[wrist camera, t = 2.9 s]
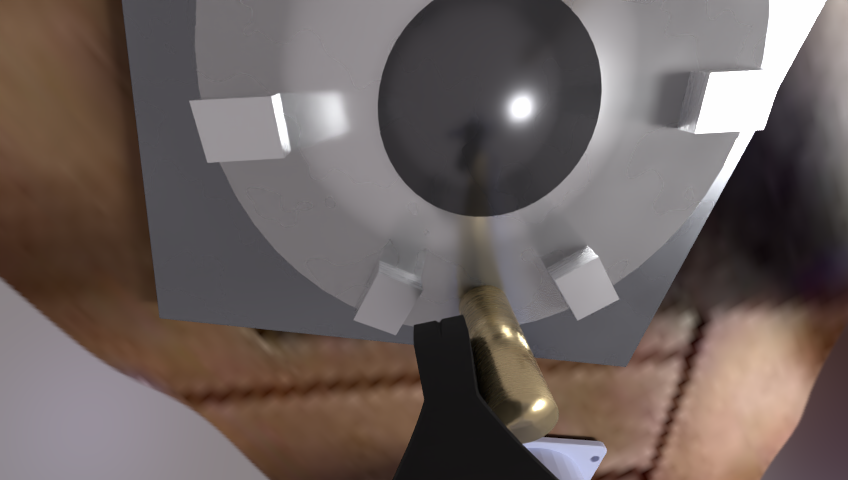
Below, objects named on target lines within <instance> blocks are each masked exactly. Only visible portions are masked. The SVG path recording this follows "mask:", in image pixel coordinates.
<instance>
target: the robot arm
mask: <svg viewBox="0 0 848 480" xmlns="http://www.w3.org/2000/svg"><path fill="white" fill-rule="evenodd" d="M413 343H414V348H415V353H416V358H417V364H418V369H419V374H420V379H421V384H422V390H423V395H424V403H423V406H422V409H421V412H420V415H419V418H418V421H417V424H416V426H415V429H414V432H413V434H412V437H411V439H410V442H409V444H408V447H407V449H406V451H405V453H404V456H403V458H402V460H401V462H400V465H399V467H398V469H397V471H396V473H395V476H394V478H393V480H590V479H591V478H592V476H593V474H594V473H595V471H596V469H597V468H598V466H599V464H600V463H601V461H602V459H603V457H604V456H605V454H606V452H607V449H606V447H605V445H604V443H602V442H600V441H591V440H577V439H563V438H550V437H542V438H540V439H538V440H535V441H533V442H529V443H525V444H522V443H521V442H520V441H519V440H518V439H517V438H516V437H515V436H514V434H513V433H512V432H511V431H510V430H509V429H508V428H507V427H506V426H505V425H504V423H503V422H502V421H501V420H500V419H499V418H498V416H497V415H496V414H495V413H494V412H493V410H492V409H491V408H490V407H489V406H488V404H487V403H486V402H485V400H484V399H483V398H482V397H481V395H480V393H479V387H478V381H477V374H476V368H475V362H474V357H473V352H472V347H471V342H470V336H469V331H468V328H467V324H466V321H465V318H464V315H458V316H454V317H449V318H444V319H442V320H441V321H440V322H437V321H436V320H435V321H430V322H425V323H420V324H416V325H414V332H413Z"/></svg>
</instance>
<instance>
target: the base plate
mask: <svg viewBox="0 0 848 480" xmlns="http://www.w3.org/2000/svg"><path fill="white" fill-rule="evenodd" d="M825 1H826V0H769V22H768V29H767V36H766V44H765V51H764V58H763V62H762V66H761V68H770V69H784V71H783V74H782V77H781V79H780V82H779V85H778V88H779V86H780V84H781V82H782V80H783V78H784V77H785V75H786V73H787V71H788V69H789V67H790V66H791V64H792V62H793V60H794V58H795V56H796V55H797V53H798V51H799V49H800V47H801V45H802V44H803V42H804V40H805V38H806V36H807V34H808V33H809V31H810V29H811V27H812V25H813V23H814V22H815V20H816V18H817V16H818V14H819V12H820V11H821V9H822V7H823V5H824V3H825ZM122 7H123V15H124V23H125V32H126V40H127V49H128V57H129V65H130V74H131V82H132V90H133V99H134V107H135V116H136V124H137V132H138V141H139V149H140V157H141V166H142V174H143V183H144V191H145V199H146V208H147V216H148V224H149V233H150V241H151V250H152V258H153V266H154V275H155V283H156V291H157V300H158V308H159V317H160V318H163V319H172V320H182V321H192V322H201V323H211V324H220V325H230V326H239V327H249V328H259V329H268V330H278V331H287V332H297V333H307V334H316V335H326V336H335V337H345V338H355V339H364V340H374V341H383V342H393V343H402V344H412V345H414V343H413V332H414V326H408V325H403V324H402V326H401V328H400V329H399V331H398V333H397V334H396V335H393V334H391V333H388V332H385V331H382V330H380V329H377V328H374V327H371V326H368V325H366V324H363V323H360V322H357V321H354V320H353V319H354V312H355V307H353V306H350V305H348V304H346V303H345V302H343V301H341V300H339V299H338V298H336V297H334V296H332V295H331V294H329V293H327V292H325V291H324V290H322V289H321V288H320V287H318V286H317V285H316V284H314V283H313V282H312V281H310V280H309V279H307V278H306V277H305V276H303V275H302V274H301V273H299V272H298V271H297V270H296V269H295V268H294V267H293V266H292V265H291V264H290V263H289V262H288V261H287V260H285V259H284V258H283V257H282V256H281V255H280V254H279V253H278V252H277V251H276V250H275V249H274V248H273V246H272V245H271V244H270V243H269V242H268V240H267V239H266V238H265V237H264V236H263V234H262V233H261V232H260V231H259V230H258V228H257V227H256V226H255V225H254V223H253V222H252V220H251V219H250V217H249V215H248V214H247V212H246V211H245V209H244V208H243V206H242V205H241V203H240V202H239V200H238V199H237V197H236V195H235V193H234V191H233V189H232V187H231V185H230V183H229V181H228V179H227V177H226V175H225V173H224V171H223V169H222V167H221V165H220V162H213V163H207V160H206V156H205V153H204V149H203V146H202V143H201V139H200V136H199V132H198V129H197V126H196V122H195V119H194V116H193V112H192V109H191V105H190V102H189V101H190V100H194V99H198V98H201V96H200V92H199V86H198V75H197V64H196V53H195V25H196V0H122ZM778 88H777V89H778ZM754 132H755V130H746V131H741V132H740V134H739V136H738V138H737V140H736V142H735V145H734V147H733V149H732V151H731V153H730V155H729V157H728V159H727V161H726V163H725V165H724V167H723V168H722V170H721V171H720V173H719V175H718V176H717V178H716V179H715V181H714V183H713V184H712V186H711V187H710V189H709V191H708V192H707V194H706V195H705V197H704V198H703V199H702V201H701V202H700V203H699V204H698V206H697V207H696V208H695V210H694V211H693V212H692V214H691V215H690V216H689V217H688V219H687V220H686V221H685V223H684V224H683V225H682V226H681V227H680V228H679V229H678V230H677V231H676V232H675V233H674V234H673V235H672V236H671V238H670V239H669V240H668V241H667V242H666V243H665V244H664V245H663V246H662V247H661V248H660V249H659V250H657V251H656V252H655V253H654V254H653V255H652V256H651V257H650V258H648V259H647V260H646V261H645V262H644V263H643V264H642V265H640V266H639V267H638V268H637V269H635V270H634V271H632V272H631V273H630V274H628V275H627V276H626V277H624V278H623V279H621V280H620V281H619V282H617V283H616V284H614V285H613V287H614V289H615V291H616V293H617V295H618V297H619V300H617V301H615V302H613V303H611V304H609V305H607V306H605V307H603V308H601V309H599V310H597V311H596V312H594V313H592V314H590V315H588V316H586V317H584V318H582V319H580V320H578V321H577V319H576V318H575V316H574V315H573V313H572V312H571V310H570V309H567V310H565V311H563V312H560V313H557V314H554V315H551V316H548V317H545V318H543V319H540V320H537V321H533V322H528V323H524V324H520V327H521V329H522V332H523V334H524V336H525V338H526V340H527V342H528V345H529V347H530V349H531V351H532V353H533V356H534V357H537V358H546V359H556V360H565V361H575V362H585V363H594V364H604V365H613V366H623V367H626V366H627V364H628V362H629V361H630V359H631V357H632V355H633V353H634V351H635V350H636V348H637V346H638V344H639V342H640V340H641V339H642V337H643V335H644V333H645V331H646V329H647V328H648V326H649V324H650V322H651V320H652V318H653V317H654V315H655V313H656V311H657V309H658V307H659V306H660V304H661V302H662V300H663V298H664V296H665V295H666V293H667V291H668V289H669V287H670V285H671V284H672V282H673V280H674V278H675V276H676V274H677V273H678V271H679V269H680V267H681V265H682V263H683V262H684V260H685V258H686V256H687V254H688V252H689V251H690V249H691V247H692V245H693V243H694V241H695V240H696V238H697V236H698V234H699V232H700V230H701V229H702V227H703V225H704V223H705V221H706V219H707V218H708V216H709V214H710V212H711V210H712V208H713V207H714V205H715V203H716V201H717V199H718V198H719V196H720V194H721V192H722V190H723V188H724V187H725V185H726V183H727V181H728V179H729V177H730V176H731V174H732V172H733V170H734V168H735V166H736V165H737V163H738V161H739V159H740V157H741V155H742V154H743V152H744V150H745V148H746V146H747V144H748V143H749V141H750V139H751V137H752V135H753V133H754Z"/></svg>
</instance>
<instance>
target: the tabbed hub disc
mask: <svg viewBox="0 0 848 480" xmlns="http://www.w3.org/2000/svg"><path fill="white" fill-rule="evenodd" d="M768 22H769V0H196V25H195V53H196V64H197V75H198V86H199V92H200V96H201V98H198V99H194V100H190V101H189V102H190V105H191V109H192V112H193V116H194V119H195V122H196V126H197V129H198V132H199V136H200V139H201V143H202V146H203V149H204V153H205V156H206V160H207V163H213V162H220V165H221V167H222V169H223V171H224V173H225V175H226V177H227V179H228V181H229V183H230V185H231V187H232V189H233V191H234V193H235V195H236V197H237V199H238V200H239V202H240V203H241V205H242V206H243V208H244V209H245V211H246V212H247V214H248V215H249V217H250V219H251V220H252V222H253V223H254V225H255V226H256V227H257V228H258V230H259V231H260V232H261V233H262V234H263V236H264V237H265V238H266V239H267V240H268V242H269V243H270V244H271V245H272V246H273V248H274V249H275V250H276V251H277V252H278V253H279V254H280V255H281V256H282V257H283V258H284V259H285V260H287V261H288V262H289V263H290V264H291V265H292V266H293V267H294V268H295V269H296V270H297V271H298V272H299V273H301V274H302V275H303V276H305V277H306V278H307V279H309V280H310V281H312V282H313V283H314V284H316V285H317V286H318V287H320V288H321V289H322V290H324V291H325V292H327V293H329V294H331V295H332V296H334V297H336V298H338V299H339V300H341V301H343V302H345V303H346V304H348V305H350V306H353V307H355V312H354V319H353V320H354V321H357V322H360V323H363V324H366V325H368V326H371V327H374V328H377V329H380V330H382V331H385V332H388V333H391V334H393V335H396V334H397V333H398V331H399V329H400V328H401V326H402V324H403V325H408V326H414V325H416V324H420V323H425V322H430V321H435V320H436V321H437V322H440V321H441V320H442V319H444V318H449V317H454V316H458V315H464V318H465V321H466V324H467V328H468V331H469V336H470V342H471V347H472V352H473V357H474V362H475V368H476V374H477V381H478V387H479V393H480V395H481V397H482V398H483V399H484V400H485V402H486V403H487V404H488V406H489V407H490V408H491V409H492V410H493V412H494V413H495V414H496V415H497V416H498V418H499V419H500V420H501V421H502V422H503V423H504V425H505V426H506V427H507V428H508V429H509V430H510V431H511V432H512V433H513V434H514V436H515V437H516V438H517V439H518V440H519V441H520V442H521V443H522V444H525V443H529V442H533V441H535V440H538V439H540V438H542V437H543V436H545V435H546V434H548V433H549V432H550V431H551V430H552V429H553V428H554V426H555V425H556V423H557V421H558V417H559V412H558V408H557V406H556V403H555V401H554V399H553V397H552V395H551V393H550V390H549V388H548V386H547V384H546V382H545V380H544V377H543V375H542V373H541V371H540V369H539V366H538V364H537V362H536V360H535V358H534V356H533V353H532V351H531V349H530V347H529V345H528V342H527V340H526V338H525V336H524V334H523V332H522V329H521V327H520V324H524V323H528V322H533V321H537V320H540V319H543V318H545V317H548V316H551V315H554V314H557V313H560V312H563V311H565V310H567V309H570V310H571V312H572V313H573V315H574V316H575V318H576V319H577V321H578V320H580V319H582V318H584V317H586V316H588V315H590V314H592V313H594V312H596V311H597V310H599V309H601V308H603V307H605V306H607V305H609V304H611V303H613V302H615V301H617V300H619V297H618V295H617V293H616V291H615V289H614V287H613V285H614V284H616V283H617V282H619V281H620V280H621V279H623V278H624V277H626V276H627V275H628V274H630V273H631V272H632V271H634V270H635V269H637V268H638V267H639V266H640V265H642V264H643V263H644V262H645V261H646V260H647V259H648V258H650V257H651V256H652V255H653V254H654V253H655V252H656V251H657V250H659V249H660V248H661V247H662V246H663V245H664V244H665V243H666V242H667V241H668V240H669V239H670V238H671V236H672V235H673V234H674V233H675V232H676V231H677V230H678V229H679V228H680V227H681V226H682V225H683V224H684V223H685V221H686V220H687V219H688V217H689V216H690V215H691V214H692V212H693V211H694V210H695V208H696V207H697V206H698V204H699V203H700V202H701V201H702V199H703V198H704V197H705V195H706V194H707V192H708V191H709V189H710V187H711V186H712V184H713V183H714V181H715V179H716V178H717V176H718V175H719V173H720V171H721V170H722V168H723V167H724V165H725V163H726V161H727V159H728V157H729V155H730V153H731V151H732V149H733V147H734V145H735V142H736V140H737V138H738V136H739V134H740V132H741V131H746V130H763V129H764V127H765V124H766V121H767V118H768V115H769V112H770V109H771V106H772V103H773V100H774V97H775V94H776V91H777V88H778V85H779V82H780V79H781V77H782V74H783V71H784V69H770V68H761V66H762V62H763V58H764V51H765V44H766V36H767V29H768Z"/></svg>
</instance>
